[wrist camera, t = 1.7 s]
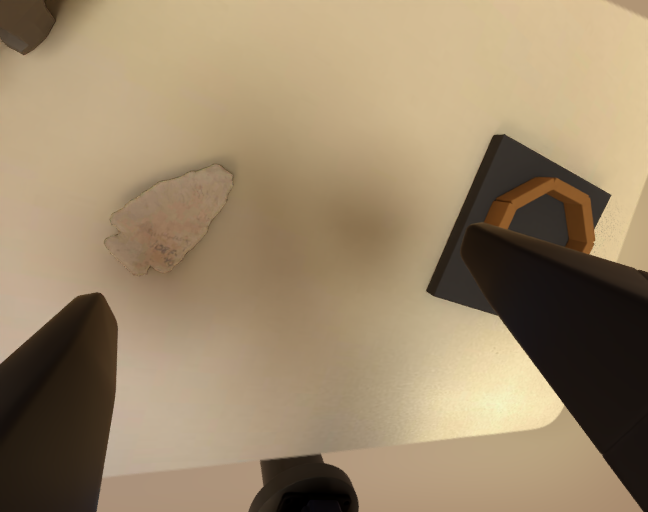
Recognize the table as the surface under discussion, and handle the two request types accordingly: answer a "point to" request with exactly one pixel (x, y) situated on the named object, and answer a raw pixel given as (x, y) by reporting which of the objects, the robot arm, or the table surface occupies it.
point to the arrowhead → (168, 220)
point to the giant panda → (24, 23)
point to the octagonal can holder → (518, 212)
